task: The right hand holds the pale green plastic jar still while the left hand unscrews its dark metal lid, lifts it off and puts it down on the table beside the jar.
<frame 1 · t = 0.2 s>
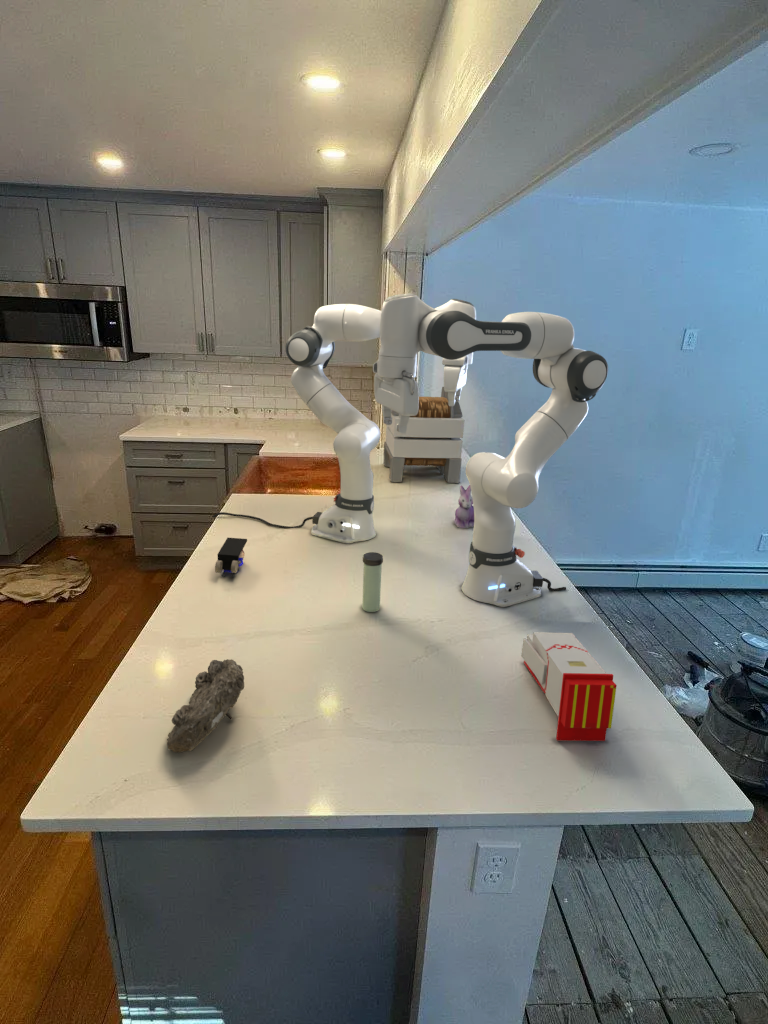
left hand: (454, 403, 174), 48 cm above the counter, tool pointing down, fingers open, 8 cm apart
right hand: (394, 428, 135), 48 cm above the counter, tool pointing down, fingers open, 8 cm apart
toy: (557, 695, 119), on the counter
fossil: (212, 717, 108), on the counter
figurine: (465, 524, 211), on the counter
figurine character: (232, 569, 168), on the counter
lid: (373, 557, 145), point 15 cm above the counter, screwed on, not yet turned
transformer: (419, 473, 275), on the counter
jar: (371, 607, 150), on the counter
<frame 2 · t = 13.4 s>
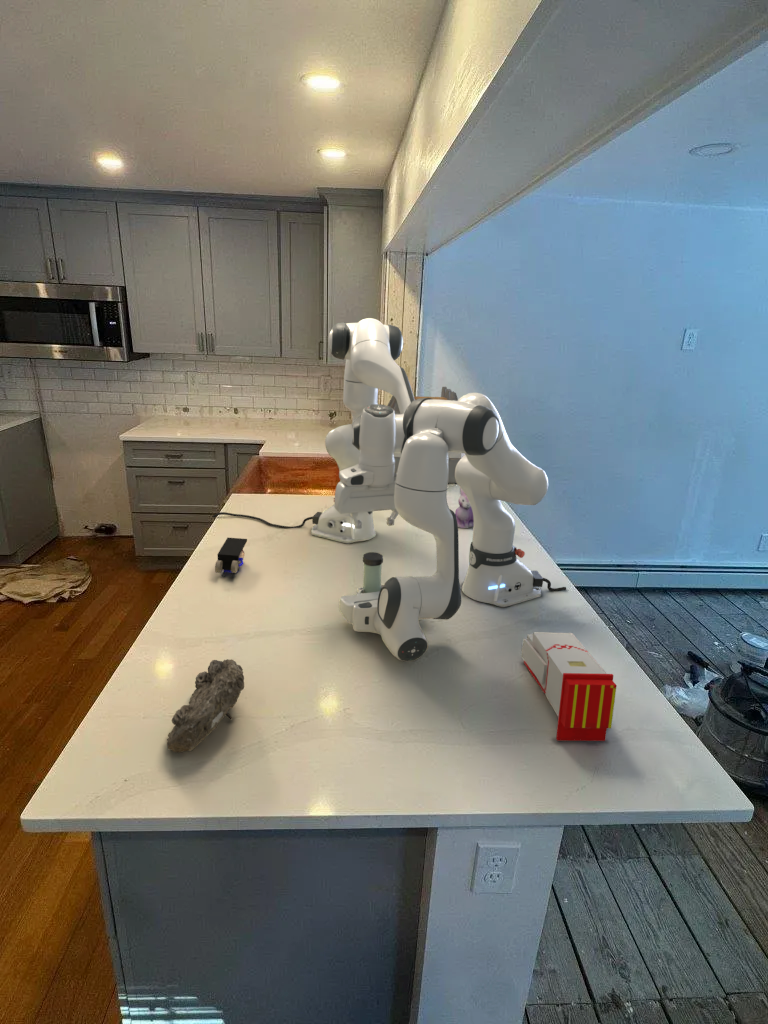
left hand: (374, 526, 142), 23 cm above the counter, tool pointing down, fingers open, 7 cm apart
right hand: (370, 588, 149), 5 cm above the counter, tool horizontal, fingers closed on jar, 4 cm apart
jar: (371, 607, 150), on the counter, touching right hand
everything else where it was.
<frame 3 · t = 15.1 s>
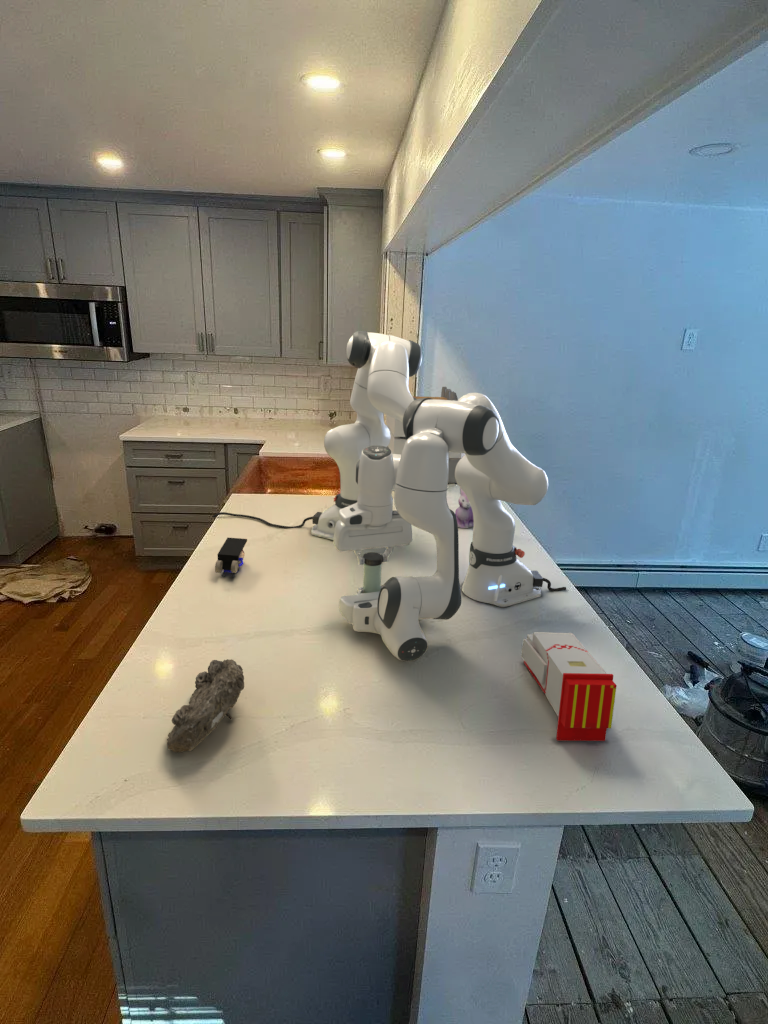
left hand: (372, 562, 146), 13 cm above the counter, tool pointing down, fingers closed on lid, 5 cm apart
right hand: (370, 588, 149), 5 cm above the counter, tool horizontal, fingers closed on jar, 4 cm apart
lid: (373, 557, 145), point 15 cm above the counter, screwed on, not yet turned, touching left hand
jar: (370, 607, 150), on the counter, touching right hand
everything else where it was.
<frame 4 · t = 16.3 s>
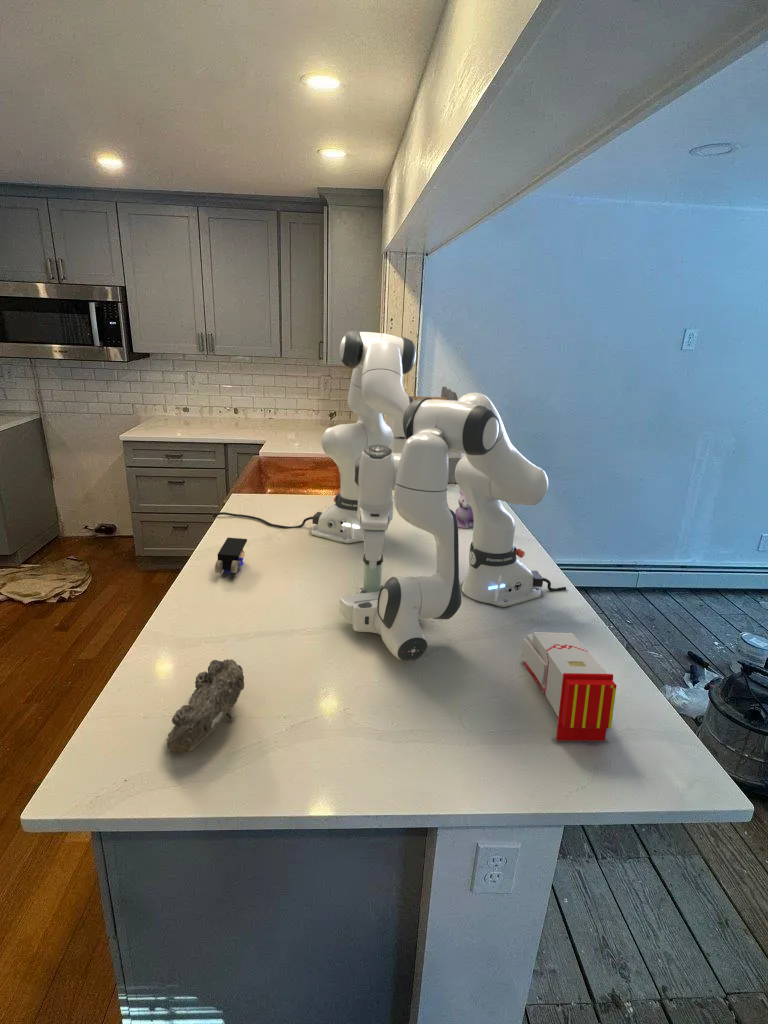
left hand: (373, 562, 145), 13 cm above the counter, tool pointing down, fingers closed on lid, 5 cm apart
right hand: (370, 588, 149), 5 cm above the counter, tool horizontal, fingers closed on jar, 4 cm apart
lid: (373, 556, 145), point 15 cm above the counter, turned 70° so far, risen 0.2 cm, still on its thread, touching left hand
jar: (370, 607, 150), on the counter, touching right hand
everything else where it was.
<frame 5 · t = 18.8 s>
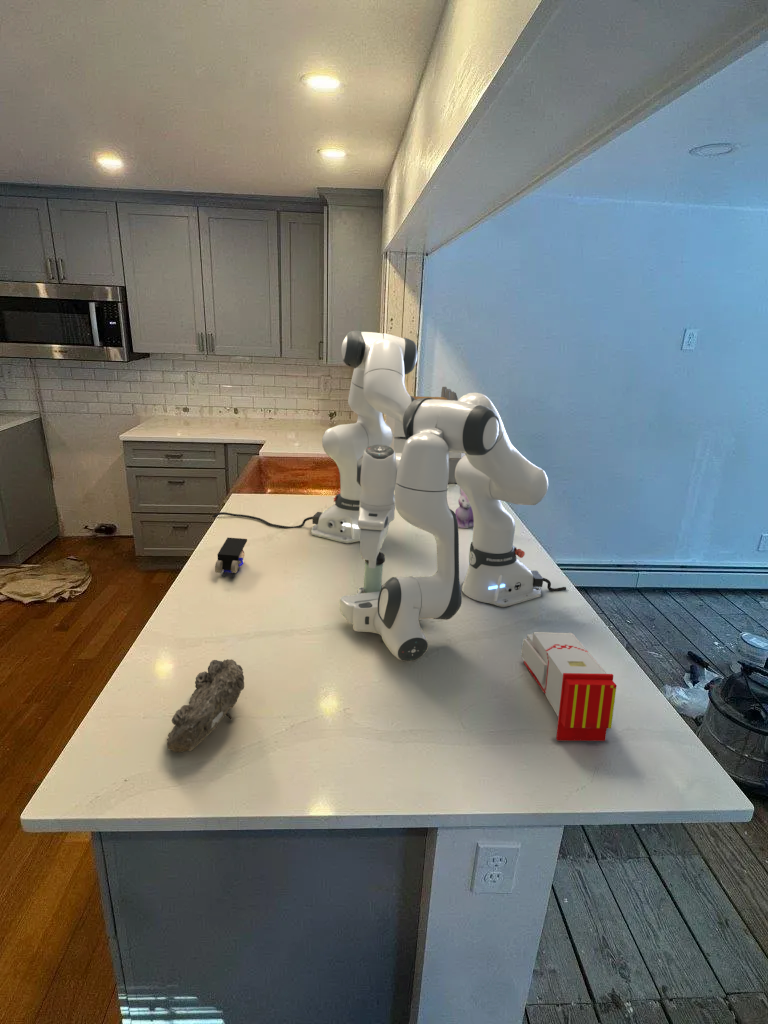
left hand: (374, 562, 146), 13 cm above the counter, tool pointing down, fingers closed on lid, 5 cm apart
right hand: (370, 588, 149), 5 cm above the counter, tool horizontal, fingers closed on jar, 4 cm apart
lid: (374, 556, 145), point 15 cm above the counter, off its thread, touching left hand
jar: (370, 607, 150), on the counter, touching left hand, right hand
everything else where it was.
when the left hand's fingers open (2 cm above the counter, at t = 23.5 s): lid drops 2 cm, point 1 cm above the counter.
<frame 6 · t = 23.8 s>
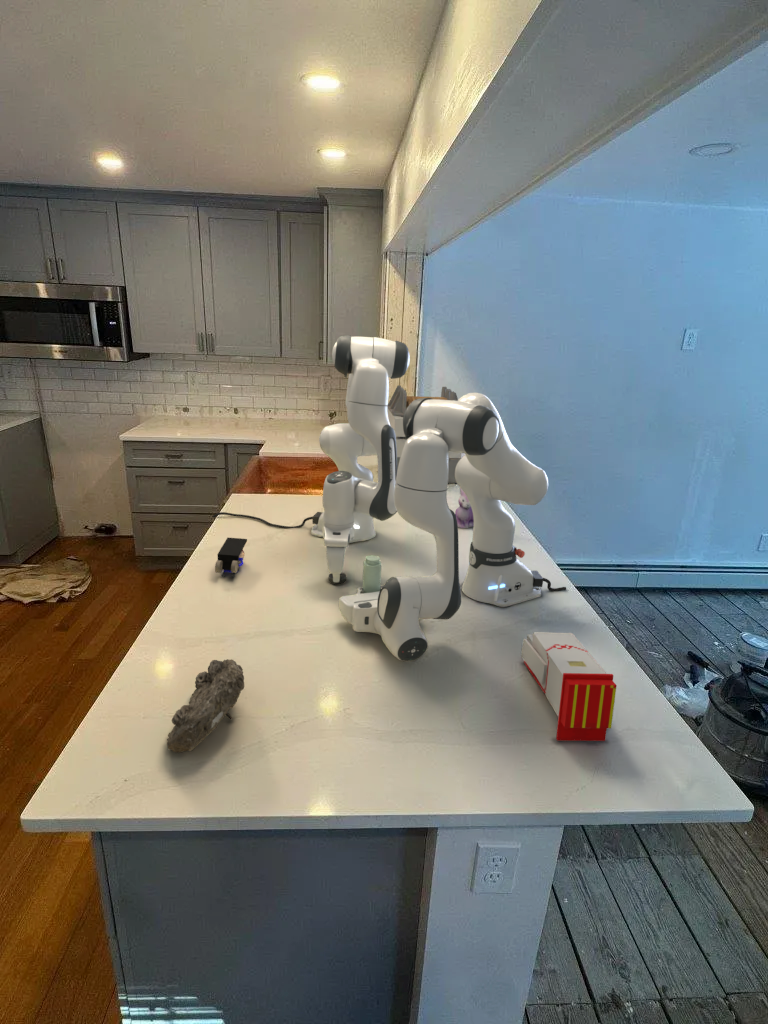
left hand: (337, 574, 163), 2 cm above the counter, tool pointing down, fingers open, 8 cm apart
right hand: (370, 589, 149), 5 cm above the counter, tool horizontal, fingers closed on jar, 4 cm apart
lid: (337, 576, 164), point 1 cm above the counter, off its thread
jar: (370, 607, 150), on the counter, touching right hand
everything else where it was.
when the right hand's fingers open (5 cm above the counter, at t = 24.6 s): jar stays where it is, on the counter.
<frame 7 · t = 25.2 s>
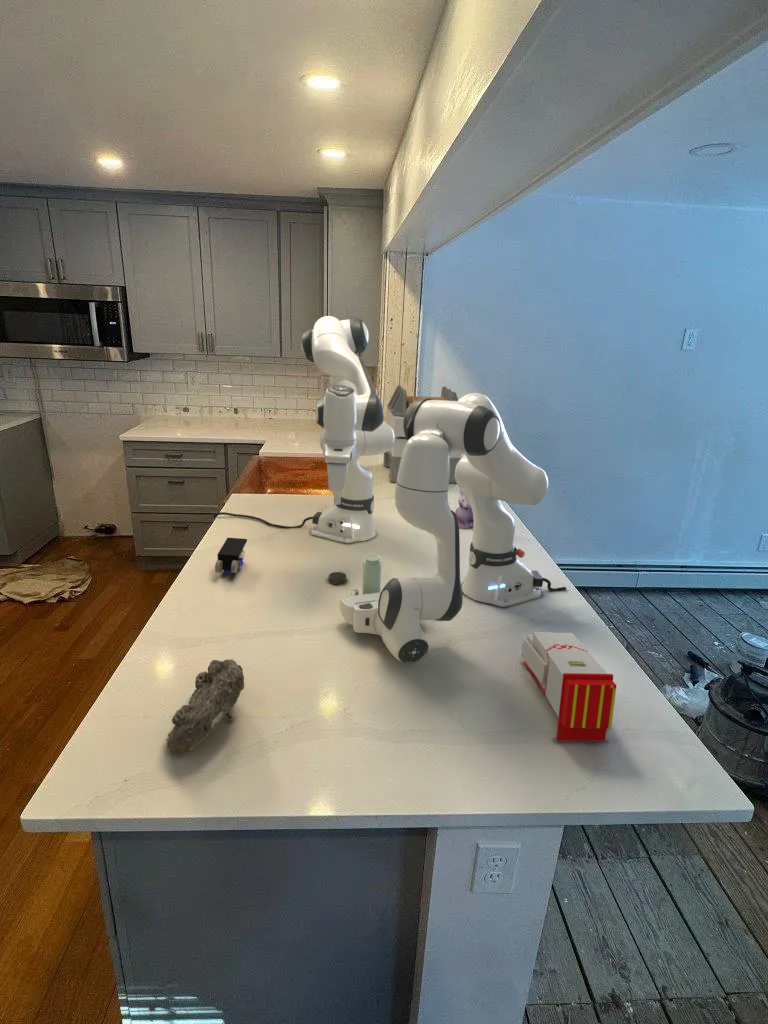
left hand: (338, 498, 155), 25 cm above the counter, tool pointing down, fingers open, 8 cm apart
right hand: (371, 589, 149), 5 cm above the counter, tool horizontal, fingers open, 8 cm apart
jar: (370, 607, 150), on the counter
everything else where it was.
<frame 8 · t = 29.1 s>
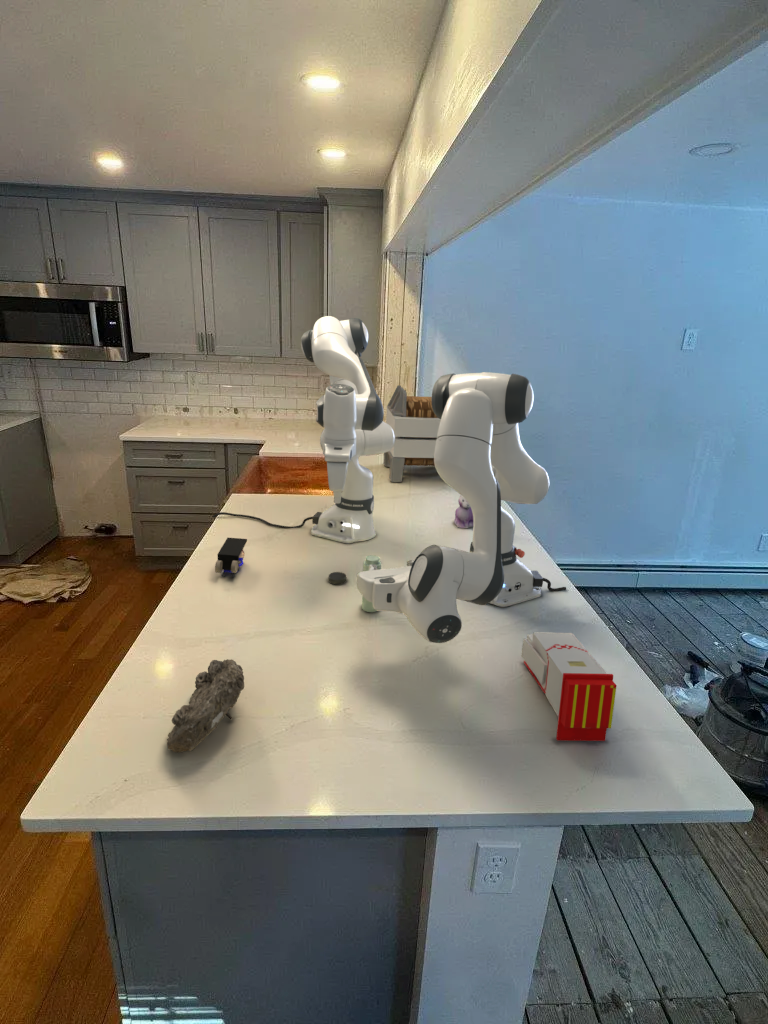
left hand: (338, 497, 155), 26 cm above the counter, tool pointing down, fingers open, 8 cm apart
right hand: (390, 565, 133), 18 cm above the counter, tool horizontal, fingers open, 8 cm apart
nothing on the counter moved.
at the end: lid came off its thread; lid point 1.2 cm above the counter; the left hand is holding nothing; the right hand is holding nothing; jar tilted 0°; jar moved 0.1 cm from its start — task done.
